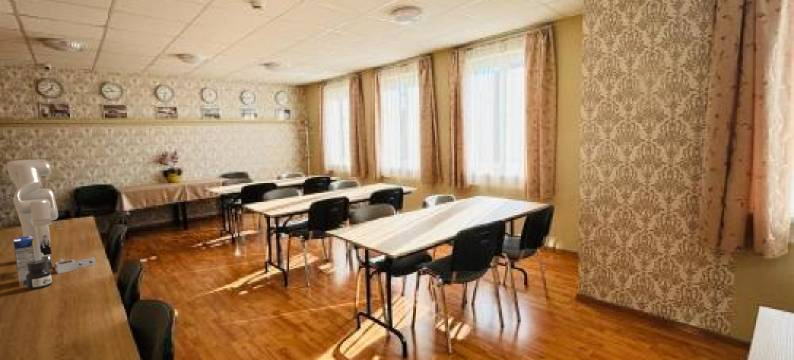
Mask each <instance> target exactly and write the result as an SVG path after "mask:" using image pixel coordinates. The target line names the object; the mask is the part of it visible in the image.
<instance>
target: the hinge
mask: <svg viewBox="0 0 794 360" xmlns="http://www.w3.org/2000/svg"><path fill="white" fill-rule="evenodd" d="M94 265H95V266H96V257H94V256H93V257H88V258H84V259H79V260H75V259H73V258H72V259H67V260H65V259H63V258H59V261H57V262H54V268H55V269H54V270H55V272H56V273H57V275H58V274H64V273H67V272H74V271H77V270H78V269H82V268H84V267H85V268H86V267H89V266H94Z"/></svg>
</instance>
